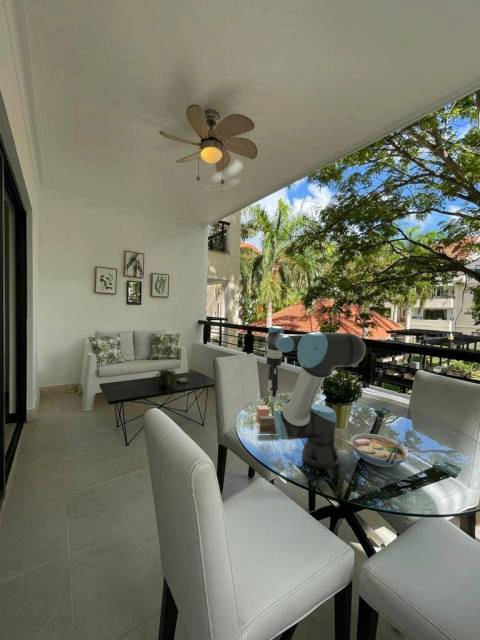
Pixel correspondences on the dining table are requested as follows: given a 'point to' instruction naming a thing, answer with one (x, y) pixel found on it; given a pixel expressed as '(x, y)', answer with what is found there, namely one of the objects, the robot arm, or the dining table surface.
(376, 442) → the ramen bowl
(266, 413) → the block
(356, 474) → the dining table surface
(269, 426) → the wooden brown box
